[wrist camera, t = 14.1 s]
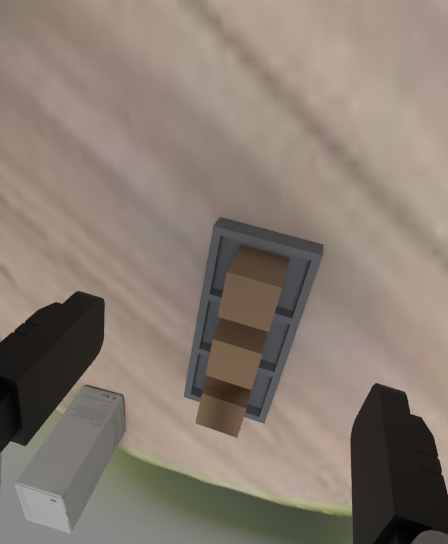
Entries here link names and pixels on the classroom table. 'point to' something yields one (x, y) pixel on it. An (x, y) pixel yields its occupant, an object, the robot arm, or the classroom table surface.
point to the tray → (281, 316)
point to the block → (222, 406)
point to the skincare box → (72, 460)
